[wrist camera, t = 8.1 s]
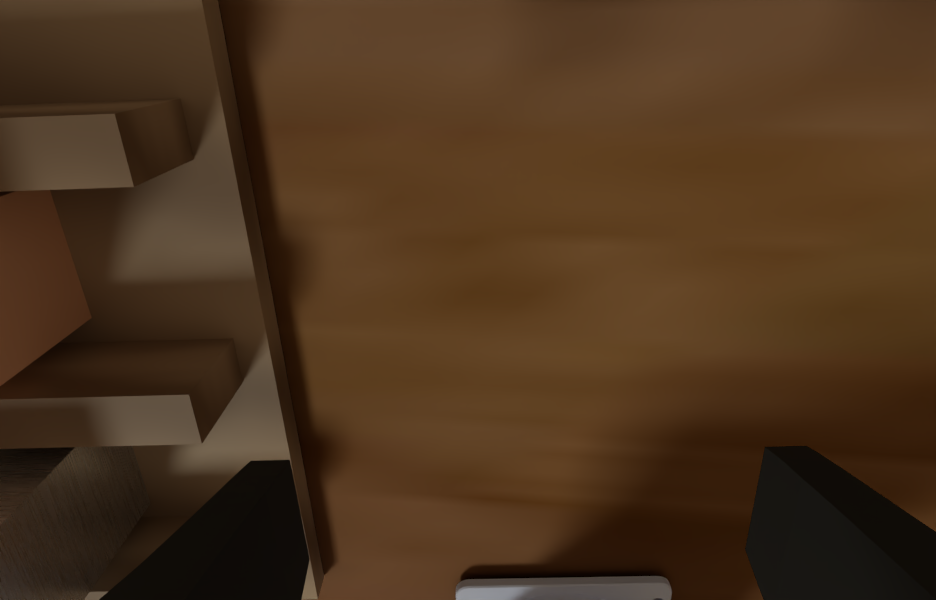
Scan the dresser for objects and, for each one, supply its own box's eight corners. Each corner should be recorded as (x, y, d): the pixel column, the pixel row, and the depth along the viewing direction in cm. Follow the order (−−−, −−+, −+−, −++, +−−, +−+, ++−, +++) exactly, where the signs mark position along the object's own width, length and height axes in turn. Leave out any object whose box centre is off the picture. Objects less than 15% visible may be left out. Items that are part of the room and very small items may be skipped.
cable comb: (324, 576, 23) (295, 679, 19) (-37, 582, 23) (-132, 685, 20) (214, -17, 15) (130, -32, 11) (-337, 7, 15) (-593, 0, 12)
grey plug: (150, 503, 20) (30, 678, 15) (33, 505, 20) (-129, 679, 15) (118, 402, 19) (-30, 556, 13) (-9, 405, 19) (-209, 560, 13)
